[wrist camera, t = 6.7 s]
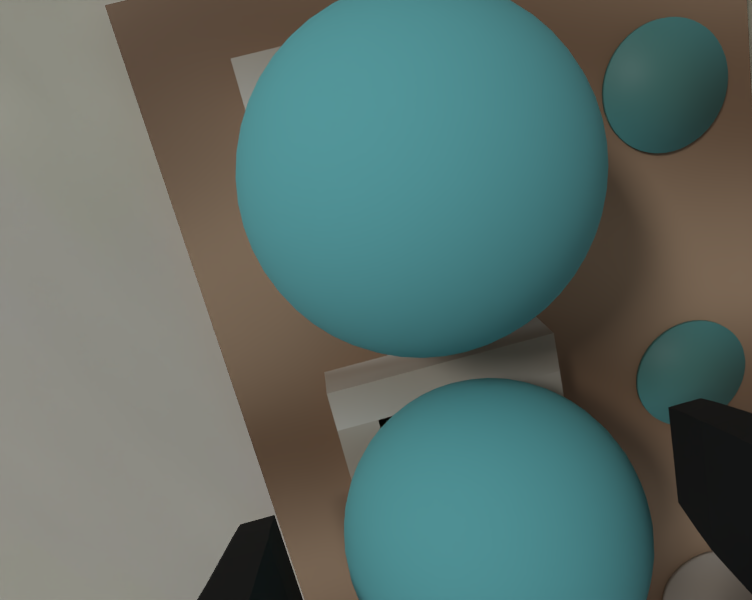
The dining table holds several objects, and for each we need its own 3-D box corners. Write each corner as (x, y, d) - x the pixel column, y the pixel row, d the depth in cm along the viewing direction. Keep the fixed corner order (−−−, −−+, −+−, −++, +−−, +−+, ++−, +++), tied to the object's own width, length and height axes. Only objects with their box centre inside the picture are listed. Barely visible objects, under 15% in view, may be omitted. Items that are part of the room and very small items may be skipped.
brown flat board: (759, 654, 18) (808, 712, 16) (368, 769, 18) (376, 841, 16) (711, -133, 12) (779, -169, 10) (117, 10, 12) (87, -3, 10)
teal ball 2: (590, 519, 14) (735, 727, 10) (367, 581, 14) (404, 825, 10) (558, 307, 13) (712, 433, 8) (306, 374, 13) (314, 543, 8)
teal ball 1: (550, 258, 13) (706, 359, 8) (292, 326, 12) (292, 473, 8) (506, -28, 11) (668, -117, 6) (209, 45, 11) (144, 9, 6)
